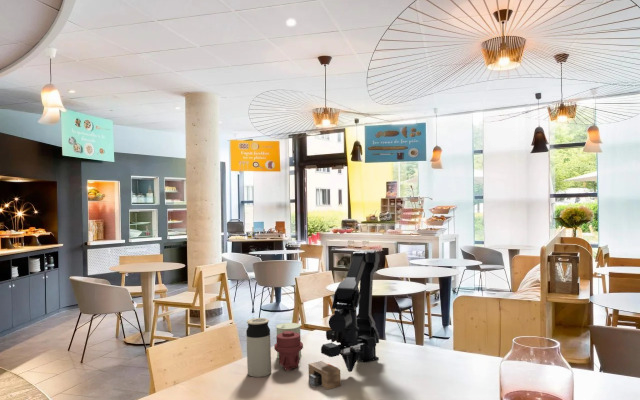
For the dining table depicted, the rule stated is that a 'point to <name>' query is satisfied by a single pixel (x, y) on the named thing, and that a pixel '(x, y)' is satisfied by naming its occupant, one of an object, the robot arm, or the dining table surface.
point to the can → (288, 327)
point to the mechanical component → (288, 349)
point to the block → (326, 374)
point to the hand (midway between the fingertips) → (350, 371)
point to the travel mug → (258, 347)
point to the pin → (316, 379)
